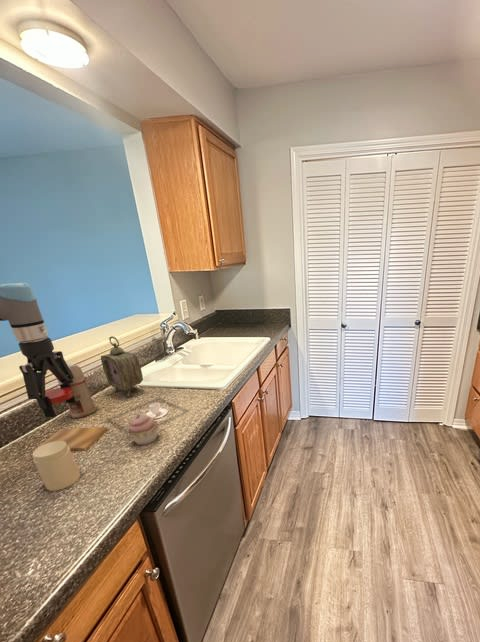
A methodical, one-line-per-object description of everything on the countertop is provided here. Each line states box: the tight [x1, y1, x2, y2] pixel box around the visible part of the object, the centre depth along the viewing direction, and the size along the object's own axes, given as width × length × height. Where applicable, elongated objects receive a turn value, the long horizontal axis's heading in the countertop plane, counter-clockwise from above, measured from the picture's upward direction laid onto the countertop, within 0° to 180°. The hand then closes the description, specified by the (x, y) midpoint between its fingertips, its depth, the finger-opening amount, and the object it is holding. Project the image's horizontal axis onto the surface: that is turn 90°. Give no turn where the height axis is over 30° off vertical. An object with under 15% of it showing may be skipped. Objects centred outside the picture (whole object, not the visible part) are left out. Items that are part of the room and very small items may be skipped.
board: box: [34, 427, 108, 452], centre depth 106 cm, size 16×12×1 cm
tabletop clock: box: [100, 335, 144, 398], centre depth 136 cm, size 14×9×25 cm, turn 54°
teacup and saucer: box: [145, 402, 169, 420], centre depth 119 cm, size 9×8×4 cm
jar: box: [32, 441, 81, 492], centre depth 85 cm, size 8×8×11 cm
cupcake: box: [126, 412, 159, 446], centre depth 102 cm, size 9×9×10 cm
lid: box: [45, 387, 74, 405], centre depth 100 cm, size 9×9×2 cm
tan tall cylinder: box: [56, 363, 97, 419], centre depth 120 cm, size 8×8×20 cm
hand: (61, 409), depth 102 cm, fingers closed on lid, 8 cm apart
